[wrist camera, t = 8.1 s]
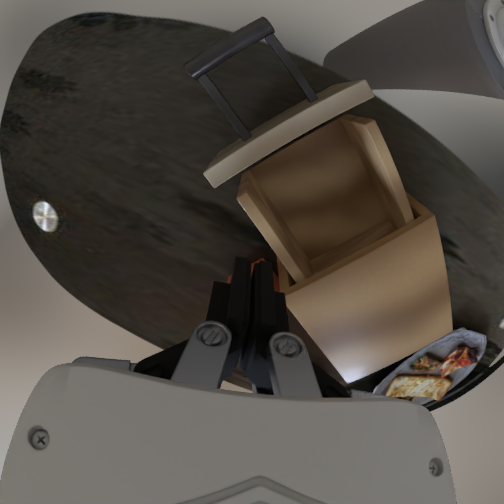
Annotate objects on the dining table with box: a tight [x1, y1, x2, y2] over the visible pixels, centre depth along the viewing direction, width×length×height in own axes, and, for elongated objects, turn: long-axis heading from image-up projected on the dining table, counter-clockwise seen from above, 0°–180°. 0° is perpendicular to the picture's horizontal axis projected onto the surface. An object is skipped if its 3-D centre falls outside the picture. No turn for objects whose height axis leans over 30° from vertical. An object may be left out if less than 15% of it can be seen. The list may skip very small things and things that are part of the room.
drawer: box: [184, 17, 415, 283], centre depth 19 cm, size 20×11×7 cm, turn 33°
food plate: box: [373, 327, 487, 405], centre depth 38 cm, size 25×23×4 cm
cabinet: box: [277, 192, 453, 383], centre depth 25 cm, size 15×13×9 cm
